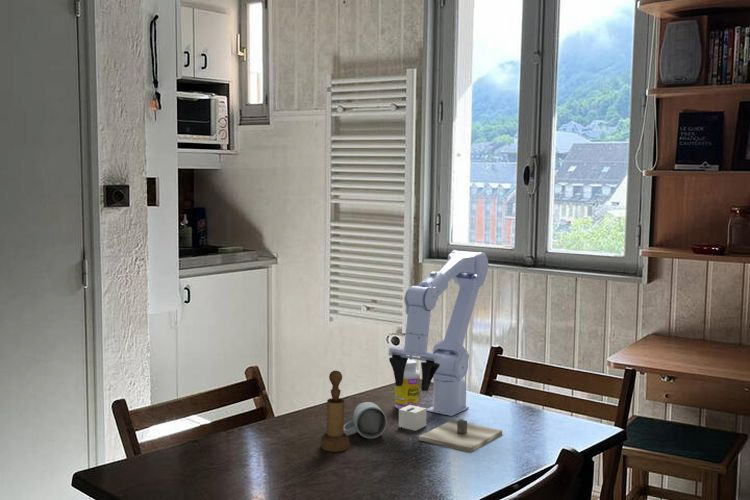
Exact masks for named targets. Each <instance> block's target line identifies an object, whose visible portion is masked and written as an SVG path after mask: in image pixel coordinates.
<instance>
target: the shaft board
mask: <svg viewBox="0 0 750 500" xmlns="http://www.w3.org/2000/svg"><path fill="white" fill-rule="evenodd" d="M502 435H503V430H502V429H498V428H492V427H487V426H483V425H478V424H473V423H469V422H468V420H465V419H458V420H455V419H451V420H449V421H447V422H445V423H443V424H442V425H439V426H437V427H435V428H433V429H431V430H429V431H427V432H425V433H422V434H420V435H419V436H418V440H419V441H422V442H425V443H430V444H434V445H439V446H443V447H447V448H451V449H456V450H460V451H464V452H469V453H472V452H474V451H475V450H477V449H479V448H480V447H483V446H485V445H486V444H488V443H489V442H491V441H493V440H495V439H496V438H498V437H500V436H502Z"/></svg>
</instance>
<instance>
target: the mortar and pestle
mask: <svg viewBox="0 0 750 500" xmlns="http://www.w3.org/2000/svg"><path fill="white" fill-rule="evenodd" d="M328 380H329V382H330V384H331V385H332V386H331V387H332V389H330V396H331V397H330V398H328V399H327V400H326V402H327V403H326V407H327V408H326V433H324V434H323V435H322V436H321V437H320V447H321V449H322V450H324V451H326V452H336V453H337V452H342V451H343V452H344V451H346V450H348V449H349V447H350V437H349V435H348V436H347V435H346V434H345V433H343V432H344V425H345V424H344V422H345V421H344V420H345V399H343V398H340V395H341V391H342V390H341V389H340V388H339V386H340V384H341V382H342V380H343V374H342V372H341V371H339V370H332V371H331V372H330V373H329V374H328Z"/></svg>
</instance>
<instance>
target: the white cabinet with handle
mask: <svg viewBox="0 0 750 500" xmlns="http://www.w3.org/2000/svg"><path fill="white" fill-rule="evenodd" d="M426 426H427V408H426V407H421V406H419V407H417V406H413V405H408V406H406V407H404V408H401V409H398V428H401V427H402V428H403V429H406V430H412V431H418V430H420V429H423V428H424V427H426Z"/></svg>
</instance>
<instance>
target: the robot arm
mask: <svg viewBox="0 0 750 500" xmlns="http://www.w3.org/2000/svg"><path fill="white" fill-rule="evenodd" d="M446 261H447V262H446V263H445V264H444V265H443V266H442V268H441V269H440V270H439V271H431V272H430V273H429V274H428V275H427V276H426V277H425V278H424V279H423V280H421V282H420V283H419V284H417V285H411V286H410V287H408V288H407V290H406V292H405V294H404V297H403V299H404V300H403V301H404V304H405V314H406V315H407V316H406V326H405V327H406V328H405V335H404V336H405V338H404V345H403V346H404V347H403V348H398V347H389V348H388V356H391V357H389V360H388V361H389V363H390V366H391V368H392V370H393V375H394V384H395V383H396V386H402V384H403V378H404V370H405V366H406V363H407V360H408V359H410V360H415V361H416V360H418V361H422V362H420V364H421V365H420V367H421V383H420V388H421V390H420V391H421V392H429V387H430V385H431V383H432V380H433V390H432V391H433V395H432V396H433V398H432V399H433V400H432V401H433V402H432V406H431V407H427V408H426V412H431V413H436V414H441V415H445V416H450V417H454V416H455V415H457V414H459V413H461V412H463V411H466V410H468V409H469V408H470V406H468V405H467V383H466V380H465V379H464V378H465V376H466V375H467V373H468V370H469V358H470V354H469V352H468V351H467V349H466V348H465V346H463V345H464V341H465V338H466V335H467V331H468V328H469V324H470V321H471V318H472V314H473V310H474V309H475V308H474V307H475V304H476V300H477V297H478V294H479V292H480V291H479V290H480V287H482V286H484V284H485V280H486V278H487V274H488V271H489V268H490V267H489V258H488V256H487V253H485V251H484V252H482V251H480V252H477V251H464V250H458V249H457V250H456V249H453V250H452V251H451V252H450V253H449V254H448V256H447V260H446ZM452 280H453V283H455V284H457V285H458V287H459V291H458V292H457V296H456V299H455V302H454V303H455V304H454V306H453V309H452V313H451V316H450V319H449V322H448V326H447V329H446V332H445V335H444V337H443V338H444V339H442V340H441V341H440V342H438V343H436V344H435V345H433V349H432V351H431V352H427V351H428V342H429V331H430V321H431V311H433V310H434V309H435V307H436V304H437V302H438V301H439V298H440V296H441V295H442V294H443V293H444V292H445V291H446V290H447V289H448V287H449V282H450V281H452Z"/></svg>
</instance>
